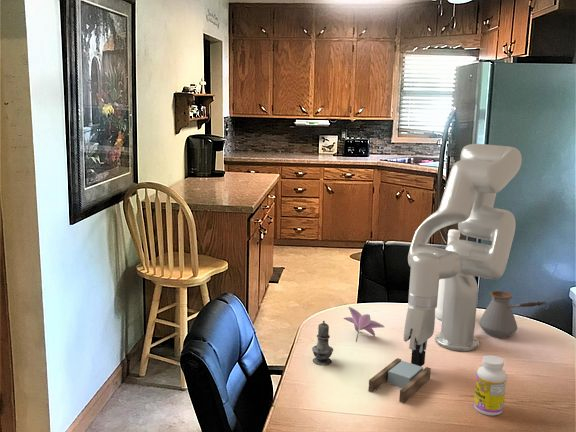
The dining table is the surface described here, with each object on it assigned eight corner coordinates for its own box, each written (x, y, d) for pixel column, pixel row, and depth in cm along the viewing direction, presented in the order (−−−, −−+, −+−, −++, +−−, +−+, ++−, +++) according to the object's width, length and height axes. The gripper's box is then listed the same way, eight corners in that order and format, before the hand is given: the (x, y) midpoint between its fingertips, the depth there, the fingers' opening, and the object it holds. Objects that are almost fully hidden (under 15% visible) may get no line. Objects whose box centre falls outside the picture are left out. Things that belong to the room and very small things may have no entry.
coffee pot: (470, 330, 191) (474, 285, 188) (493, 323, 197) (498, 279, 194) (529, 355, 174) (535, 306, 171) (553, 347, 180) (559, 299, 177)
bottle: (457, 323, 196) (466, 234, 190) (433, 319, 199) (440, 231, 193) (460, 315, 204) (467, 229, 197) (436, 311, 206) (443, 226, 200)
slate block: (401, 372, 162) (402, 360, 161) (421, 379, 158) (422, 367, 158) (387, 383, 156) (388, 371, 155) (408, 391, 152) (409, 378, 151)
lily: (386, 347, 179) (391, 316, 182) (356, 339, 173) (362, 306, 176) (360, 345, 189) (364, 315, 192) (331, 338, 183) (336, 306, 186)
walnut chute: (396, 368, 164) (397, 358, 163) (429, 378, 158) (430, 368, 158) (368, 391, 151) (369, 380, 150) (403, 403, 145) (404, 391, 145)
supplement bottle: (469, 402, 147) (474, 353, 144) (495, 402, 147) (500, 353, 145) (480, 417, 140) (485, 366, 137) (507, 416, 141) (513, 365, 138)
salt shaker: (331, 367, 163) (333, 325, 161) (310, 364, 165) (311, 323, 162) (334, 357, 169) (335, 317, 167) (313, 355, 170) (314, 315, 168)
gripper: (421, 289, 167) (416, 351, 171) (397, 304, 155) (392, 369, 159) (447, 295, 163) (441, 358, 167) (424, 310, 151) (419, 378, 155)
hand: (417, 363), depth 163 cm, fingers closed
